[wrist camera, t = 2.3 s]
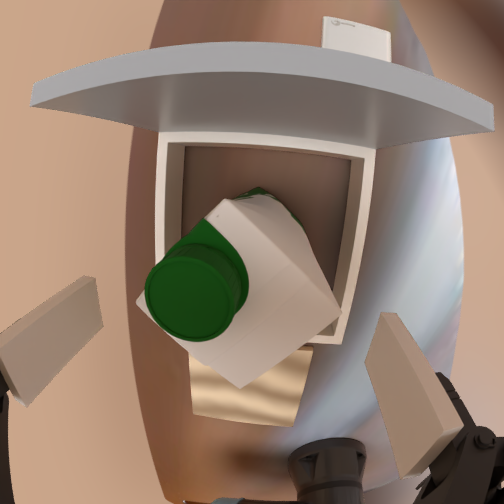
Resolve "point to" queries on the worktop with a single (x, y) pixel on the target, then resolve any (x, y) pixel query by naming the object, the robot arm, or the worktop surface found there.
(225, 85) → the equipment case
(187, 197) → the worktop surface
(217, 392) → the wooden mat
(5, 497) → the robot arm
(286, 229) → the soya milk
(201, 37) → the worktop surface
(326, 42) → the hard drive
